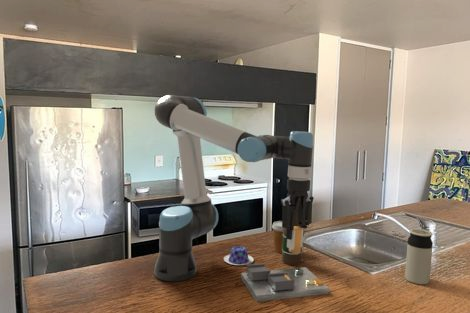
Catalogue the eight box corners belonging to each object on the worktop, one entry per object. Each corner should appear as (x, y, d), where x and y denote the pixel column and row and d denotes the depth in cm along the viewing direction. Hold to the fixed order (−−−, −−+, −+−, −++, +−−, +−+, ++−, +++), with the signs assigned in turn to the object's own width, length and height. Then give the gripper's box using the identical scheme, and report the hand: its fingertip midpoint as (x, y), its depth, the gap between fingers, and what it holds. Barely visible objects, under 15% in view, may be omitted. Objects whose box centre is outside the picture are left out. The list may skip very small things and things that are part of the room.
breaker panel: (256, 301, 115) (256, 292, 114) (240, 278, 131) (241, 270, 131) (328, 293, 121) (328, 284, 121) (305, 272, 138) (305, 264, 137)
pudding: (226, 267, 141) (226, 254, 140) (221, 255, 152) (222, 243, 152) (256, 266, 143) (257, 253, 142) (250, 254, 155) (250, 242, 154)
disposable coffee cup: (292, 247, 163) (293, 221, 162) (293, 255, 154) (295, 227, 153) (270, 246, 164) (272, 220, 163) (270, 254, 155) (272, 226, 154)
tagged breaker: (275, 290, 117) (275, 281, 117) (268, 281, 124) (268, 273, 123) (293, 288, 119) (294, 280, 119) (285, 280, 125) (286, 271, 125)
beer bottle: (302, 259, 150) (305, 201, 147) (299, 267, 142) (302, 206, 140) (283, 257, 152) (286, 199, 150) (279, 263, 145) (282, 204, 142)
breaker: (252, 280, 124) (252, 272, 124) (246, 272, 130) (246, 264, 130) (270, 278, 126) (270, 270, 126) (263, 271, 132) (264, 263, 132)
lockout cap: (286, 250, 125) (287, 227, 124) (294, 248, 127) (295, 225, 126) (294, 254, 122) (296, 230, 121) (303, 251, 124) (304, 228, 123)
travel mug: (419, 286, 128) (423, 236, 126) (399, 277, 135) (403, 229, 133) (434, 282, 132) (438, 233, 130) (414, 274, 139) (418, 227, 137)
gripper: (289, 182, 114) (284, 255, 117) (324, 178, 124) (319, 246, 126) (272, 178, 120) (269, 248, 123) (307, 175, 129) (303, 239, 132)
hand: (294, 247), depth 124 cm, fingers closed on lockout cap, 3 cm apart
